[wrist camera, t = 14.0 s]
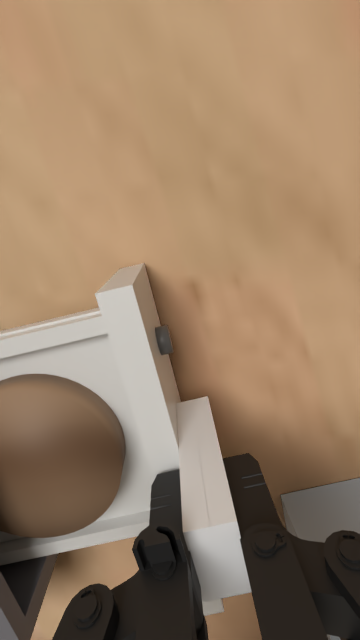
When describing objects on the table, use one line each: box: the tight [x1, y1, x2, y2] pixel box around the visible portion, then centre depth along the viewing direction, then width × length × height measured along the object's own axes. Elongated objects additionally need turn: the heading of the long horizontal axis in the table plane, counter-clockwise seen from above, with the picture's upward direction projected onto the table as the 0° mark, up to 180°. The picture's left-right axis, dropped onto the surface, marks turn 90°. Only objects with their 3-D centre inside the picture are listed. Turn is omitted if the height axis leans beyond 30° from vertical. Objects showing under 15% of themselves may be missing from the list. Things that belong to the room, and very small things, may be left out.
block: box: [281, 478, 360, 640], centre depth 18 cm, size 5×5×6 cm
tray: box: [0, 263, 224, 616], centre depth 15 cm, size 16×15×6 cm
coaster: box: [0, 374, 126, 538], centre depth 16 cm, size 8×8×2 cm
